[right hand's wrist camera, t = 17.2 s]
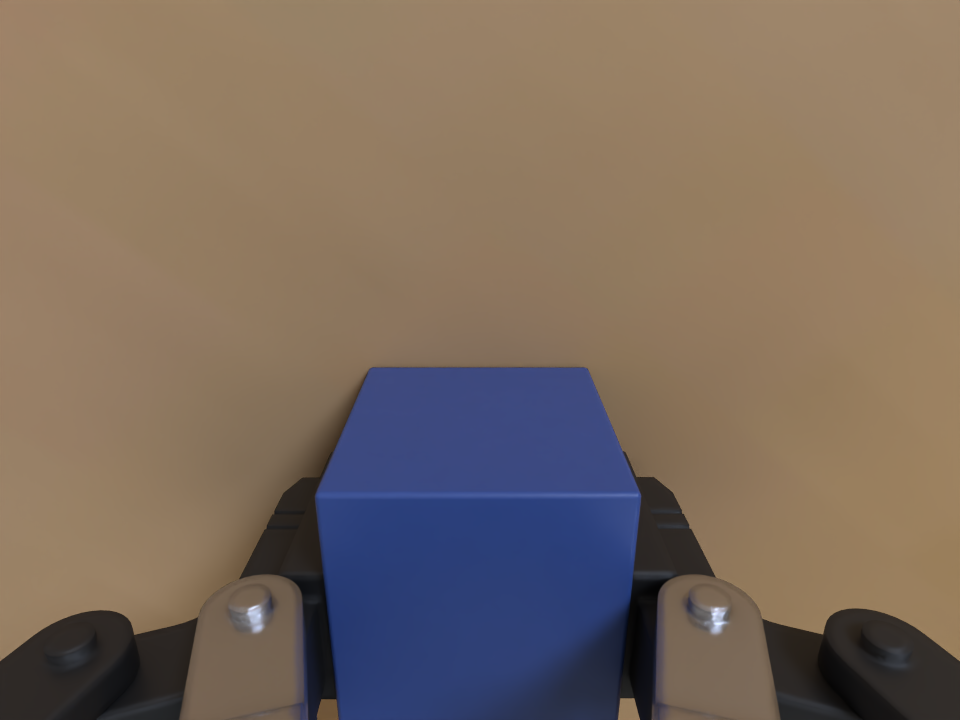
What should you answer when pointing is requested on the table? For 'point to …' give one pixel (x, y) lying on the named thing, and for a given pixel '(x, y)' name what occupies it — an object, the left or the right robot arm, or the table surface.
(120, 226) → the table surface
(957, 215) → the table surface
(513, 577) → the block
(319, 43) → the table surface
